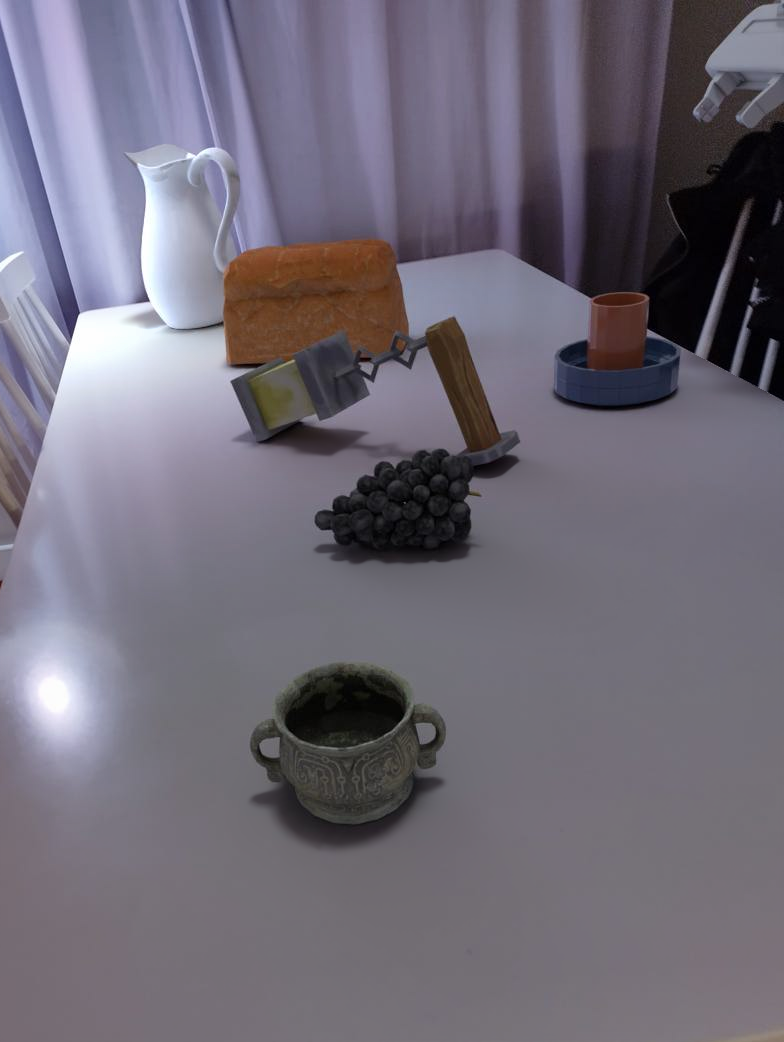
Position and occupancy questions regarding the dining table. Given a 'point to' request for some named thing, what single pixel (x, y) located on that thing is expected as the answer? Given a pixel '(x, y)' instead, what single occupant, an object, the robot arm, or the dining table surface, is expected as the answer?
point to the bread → (312, 299)
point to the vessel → (348, 740)
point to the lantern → (337, 383)
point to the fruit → (424, 518)
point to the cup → (617, 331)
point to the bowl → (617, 376)
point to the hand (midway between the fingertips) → (720, 121)
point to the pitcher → (185, 234)
